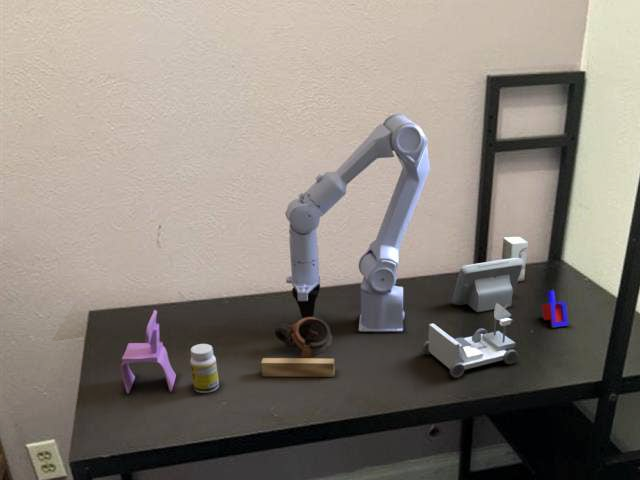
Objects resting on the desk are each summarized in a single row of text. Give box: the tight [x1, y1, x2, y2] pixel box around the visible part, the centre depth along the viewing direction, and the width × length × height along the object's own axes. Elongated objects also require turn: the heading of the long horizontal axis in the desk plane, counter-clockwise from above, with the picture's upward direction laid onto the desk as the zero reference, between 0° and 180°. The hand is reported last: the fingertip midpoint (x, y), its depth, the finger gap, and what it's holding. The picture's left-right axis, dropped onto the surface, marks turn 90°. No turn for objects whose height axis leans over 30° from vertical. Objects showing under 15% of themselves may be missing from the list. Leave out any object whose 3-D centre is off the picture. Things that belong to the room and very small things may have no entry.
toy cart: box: [421, 303, 519, 379], centre depth 156 cm, size 18×10×12 cm
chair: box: [120, 309, 177, 394], centre depth 146 cm, size 8×9×15 cm
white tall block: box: [501, 235, 528, 282], centre depth 192 cm, size 5×4×10 cm
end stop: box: [260, 357, 336, 378], centre depth 152 cm, size 14×2×3 cm, turn 88°
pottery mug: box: [273, 316, 333, 358], centre depth 160 cm, size 12×10×8 cm
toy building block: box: [541, 289, 569, 328], centre depth 171 cm, size 4×4×8 cm
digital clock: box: [451, 258, 523, 313], centre depth 178 cm, size 16×9×11 cm, turn 99°
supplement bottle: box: [189, 343, 220, 394], centre depth 146 cm, size 5×5×8 cm
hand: (307, 318), depth 167 cm, fingers closed
